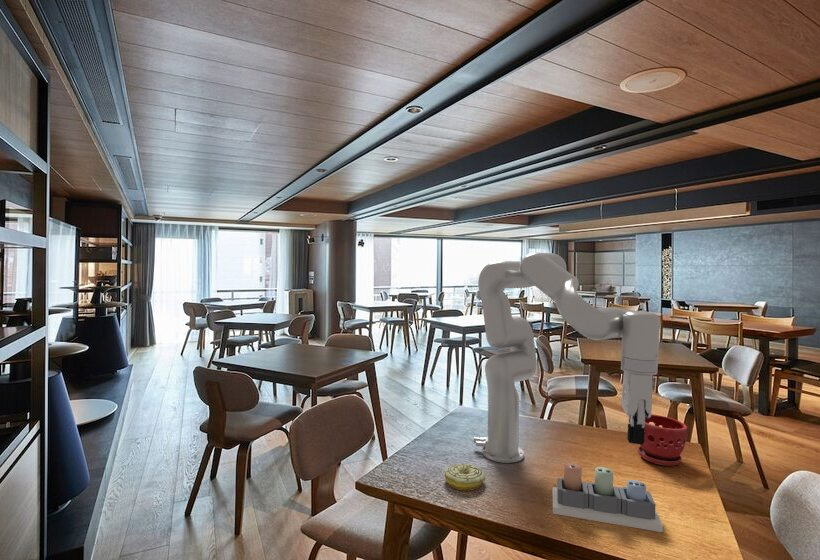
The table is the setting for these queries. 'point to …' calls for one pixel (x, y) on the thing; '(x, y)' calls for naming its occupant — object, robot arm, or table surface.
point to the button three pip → (636, 490)
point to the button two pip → (603, 481)
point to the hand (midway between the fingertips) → (635, 442)
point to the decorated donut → (464, 476)
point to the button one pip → (572, 476)
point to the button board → (606, 506)
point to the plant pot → (663, 440)
